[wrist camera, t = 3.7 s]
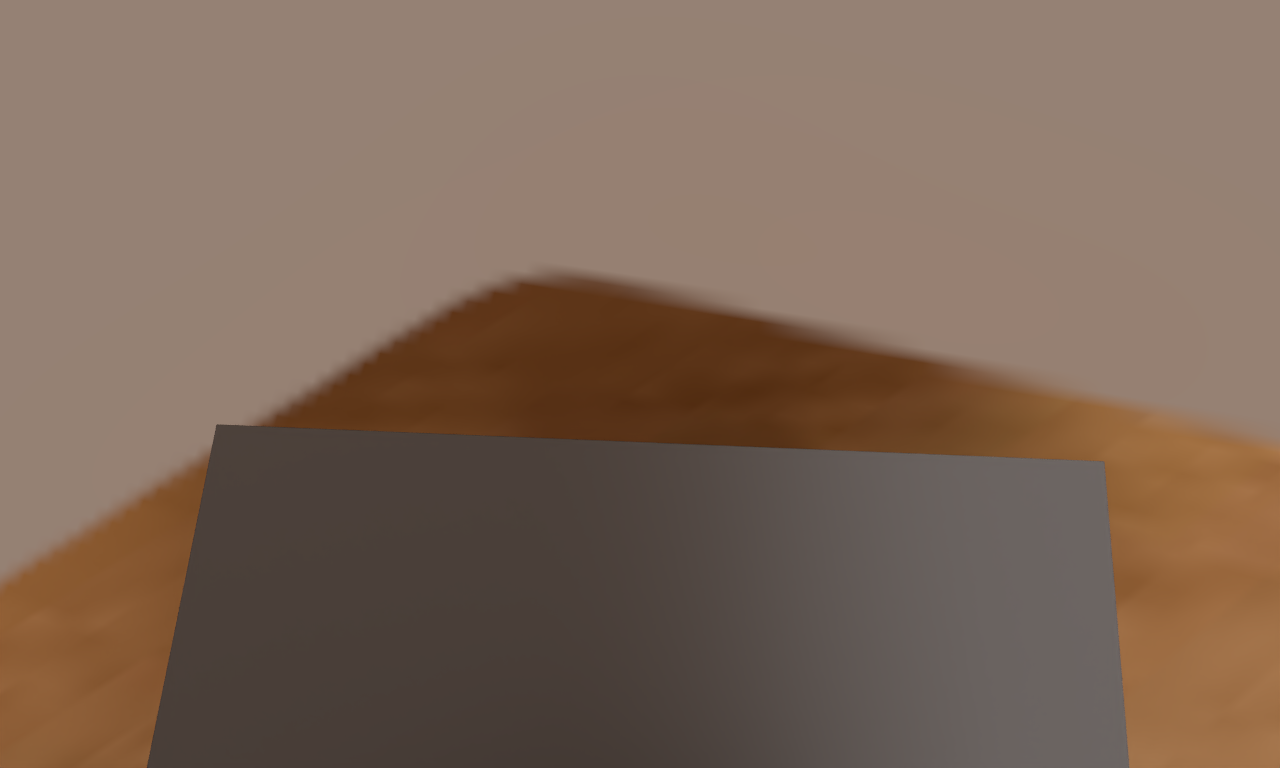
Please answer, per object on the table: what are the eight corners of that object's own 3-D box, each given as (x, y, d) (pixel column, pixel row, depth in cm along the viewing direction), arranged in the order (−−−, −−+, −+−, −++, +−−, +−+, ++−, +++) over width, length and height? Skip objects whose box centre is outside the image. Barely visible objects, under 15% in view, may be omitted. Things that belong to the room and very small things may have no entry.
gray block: (845, 871, 14) (1237, 2071, 3) (562, 836, 15) (-32, 1650, 4) (845, 546, 16) (1104, 462, 4) (586, 531, 17) (217, 424, 5)
